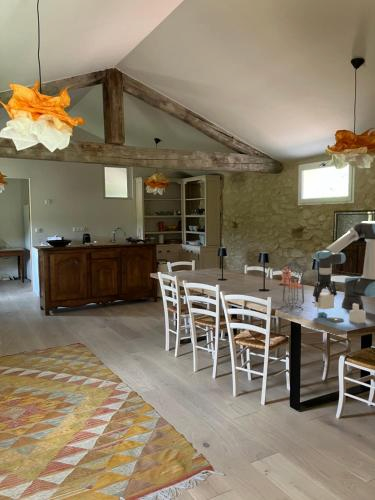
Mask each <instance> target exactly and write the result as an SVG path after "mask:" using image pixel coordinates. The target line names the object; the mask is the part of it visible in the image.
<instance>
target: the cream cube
mask: <svg viewBox="0 0 375 500" xmlns="http://www.w3.org/2000/svg"><path fill="white" fill-rule="evenodd" d="M313 298H314V299H313V303H314V304H313V305H314V308H317V309H320V310H321V309H322V310H328V309H329V310H330V309H334V308H335V297H334V295H333V294H330V292H329V293H328V292H321V293H320V295H319V298H320V307H317V302H316V298H315V297H314V296H313Z"/></svg>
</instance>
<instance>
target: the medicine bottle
mask: <svg viewBox="0 0 375 500" xmlns="http://www.w3.org/2000/svg"><path fill="white" fill-rule="evenodd" d="M363 305H364V304H363ZM363 305H362V304H360V303H354V304H353V309H349V312H348V321H349V322H350V323H353V324H364V323H366V317H367V316H366V314H367V313H366V311H365V310H364V308H363Z"/></svg>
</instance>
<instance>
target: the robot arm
mask: <svg viewBox="0 0 375 500" xmlns="http://www.w3.org/2000/svg"><path fill="white" fill-rule="evenodd" d="M360 238H364V241H365V242H366V245H365V251H364V252H365V254H364V261H363V262H364V263H363V270H362V271H363V272H362V275H361V276H347V277H345V278H344V293H343V294H344V297H343V300H342V302H341V308H344V309H348V310H353V304H354V303H360V304H362V305H363V309H364V305H365V304H364V303H363V302H364V301H363V299H362V297H367V298H375V220H371V221H370V220H369V221H365V220H363V221H360V222H358V223H356V224H355V225H353V226H351V227H350V228H348V230H347V232H346V233H345V234H343V235H342V236H341V237H339V238H337V240H335V241H334V242H333V243H331V244H330V245H328V246H327V247H326V248H325V249H323V250H319V251H317V252H315V254H314V259H315V261H316V262H318V273H319V274H318V279H319V281H315V282H314V287H313V292H312V297H313V298H314V297H315V298H316V302H317V307H320V298H319V295H320V293H322V291H323V289H325V288H327V290H328V292H329V294H333V295H334V298H335V297H336V296H338V293H337V288H336V281H334V280H331V279H332V265H341V264H344V263H345V262H346V255H345V253H344V252H341V251H342V250H343V249H345V248H346V247H348V245H350V244H351V243H353V242H354V241H357V240H359V239H360ZM317 307H316V308H317Z"/></svg>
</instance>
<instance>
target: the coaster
mask: <svg viewBox="0 0 375 500" xmlns="http://www.w3.org/2000/svg"><path fill="white" fill-rule="evenodd" d="M327 321H328V322H333V323H344V321H345V320H344V318H341V317H335V316H334V317H327Z"/></svg>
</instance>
